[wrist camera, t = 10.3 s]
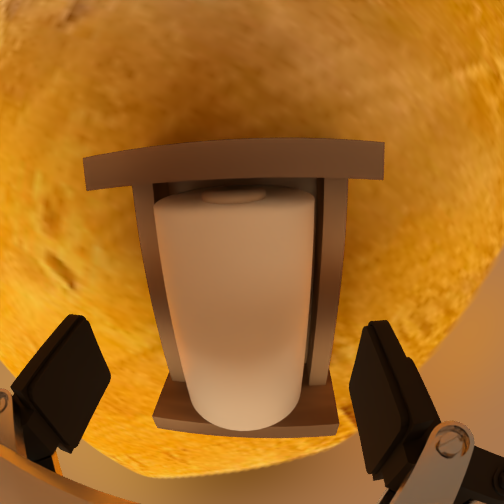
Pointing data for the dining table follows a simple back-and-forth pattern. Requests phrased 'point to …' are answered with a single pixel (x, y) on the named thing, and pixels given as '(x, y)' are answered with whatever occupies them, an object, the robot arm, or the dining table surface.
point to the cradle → (323, 260)
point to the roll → (239, 297)
